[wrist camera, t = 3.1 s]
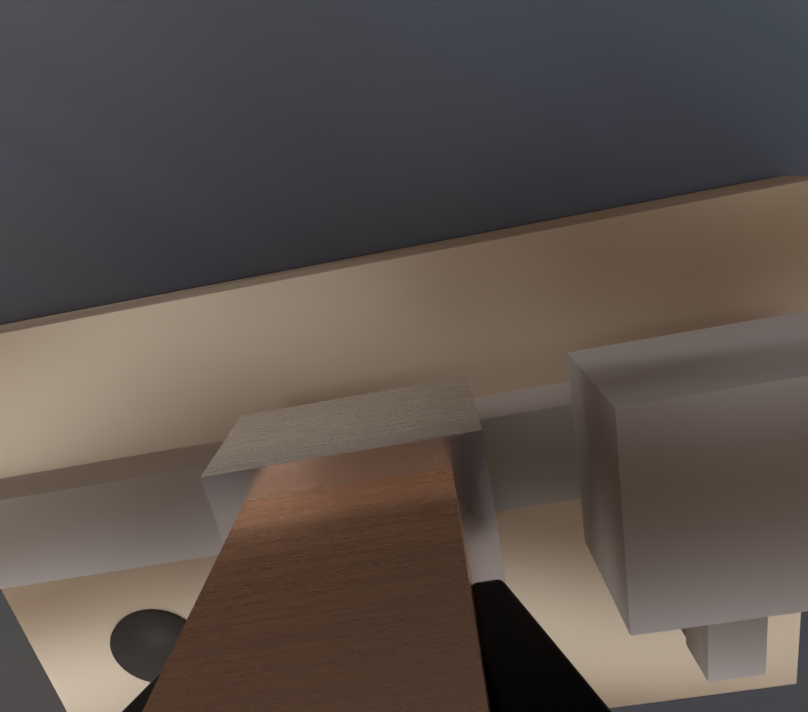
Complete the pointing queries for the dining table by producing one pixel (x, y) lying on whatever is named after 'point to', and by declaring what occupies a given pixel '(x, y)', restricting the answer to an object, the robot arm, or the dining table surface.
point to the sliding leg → (344, 561)
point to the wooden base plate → (501, 424)
